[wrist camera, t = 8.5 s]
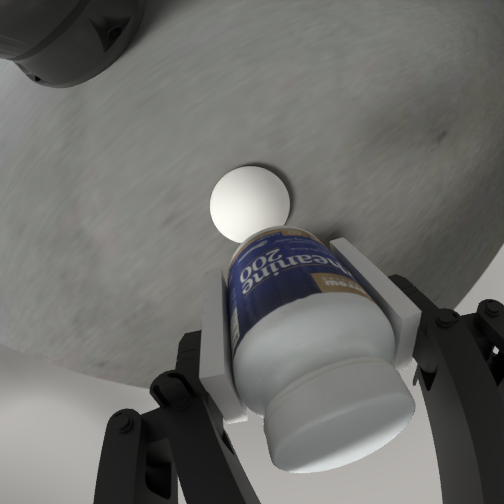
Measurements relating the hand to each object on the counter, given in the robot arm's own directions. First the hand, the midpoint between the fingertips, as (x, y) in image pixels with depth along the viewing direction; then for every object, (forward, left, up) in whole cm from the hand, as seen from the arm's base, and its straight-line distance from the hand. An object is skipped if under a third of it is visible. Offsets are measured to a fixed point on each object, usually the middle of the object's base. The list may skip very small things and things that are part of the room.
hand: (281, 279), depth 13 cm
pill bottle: (0, 0, -1) cm, 1 cm away
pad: (0, 0, -16) cm, 16 cm away
